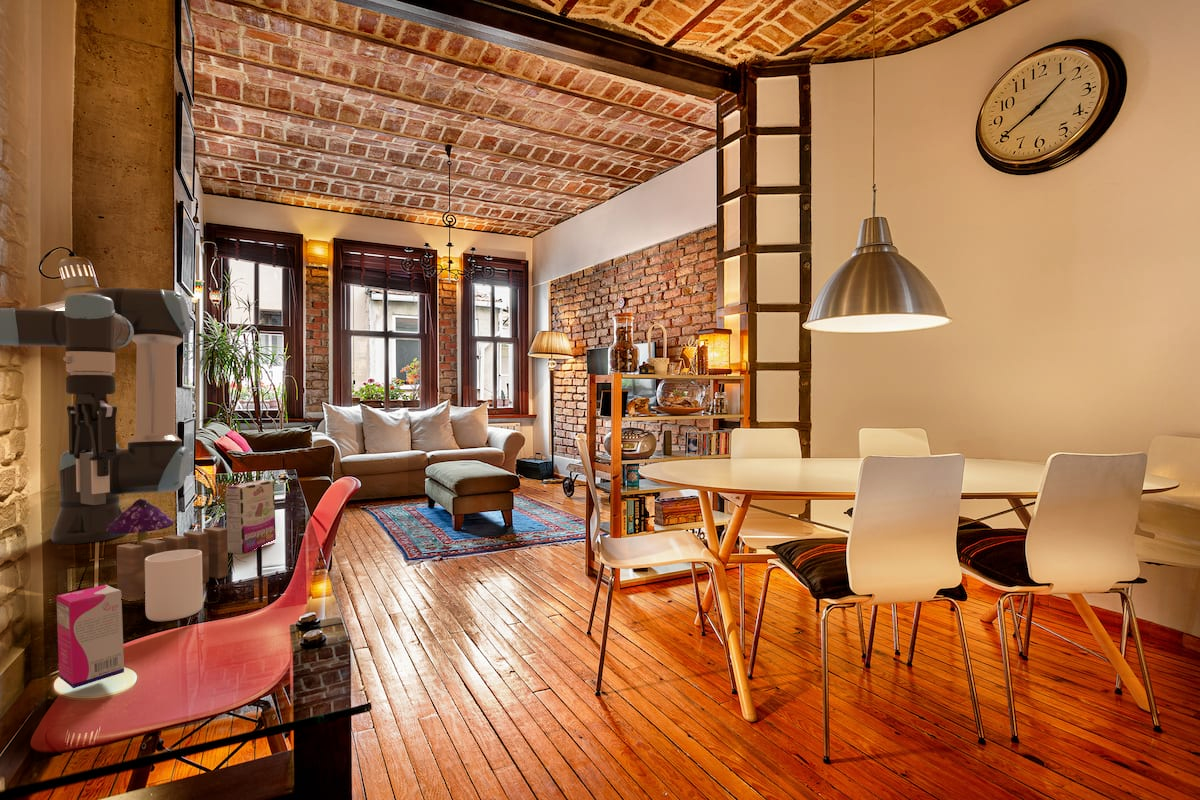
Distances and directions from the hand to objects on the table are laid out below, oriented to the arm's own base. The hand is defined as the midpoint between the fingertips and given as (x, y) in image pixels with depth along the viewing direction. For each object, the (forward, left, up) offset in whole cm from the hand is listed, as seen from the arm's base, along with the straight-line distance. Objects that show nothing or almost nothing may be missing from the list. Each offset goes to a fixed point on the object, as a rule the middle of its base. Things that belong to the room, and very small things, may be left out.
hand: (93, 491), depth 122 cm
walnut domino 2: (+13, +4, -19) cm, 24 cm away
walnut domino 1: (+13, 0, -19) cm, 23 cm away
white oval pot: (+27, 0, -20) cm, 34 cm away
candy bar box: (-2, +34, -20) cm, 39 cm away
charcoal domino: (0, 0, -2) cm, 2 cm away
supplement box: (+44, -20, -20) cm, 52 cm away
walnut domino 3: (+13, +8, -19) cm, 25 cm away
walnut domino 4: (+13, +12, -19) cm, 26 cm away
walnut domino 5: (+13, +16, -19) cm, 28 cm away
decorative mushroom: (-11, +14, -20) cm, 26 cm away
